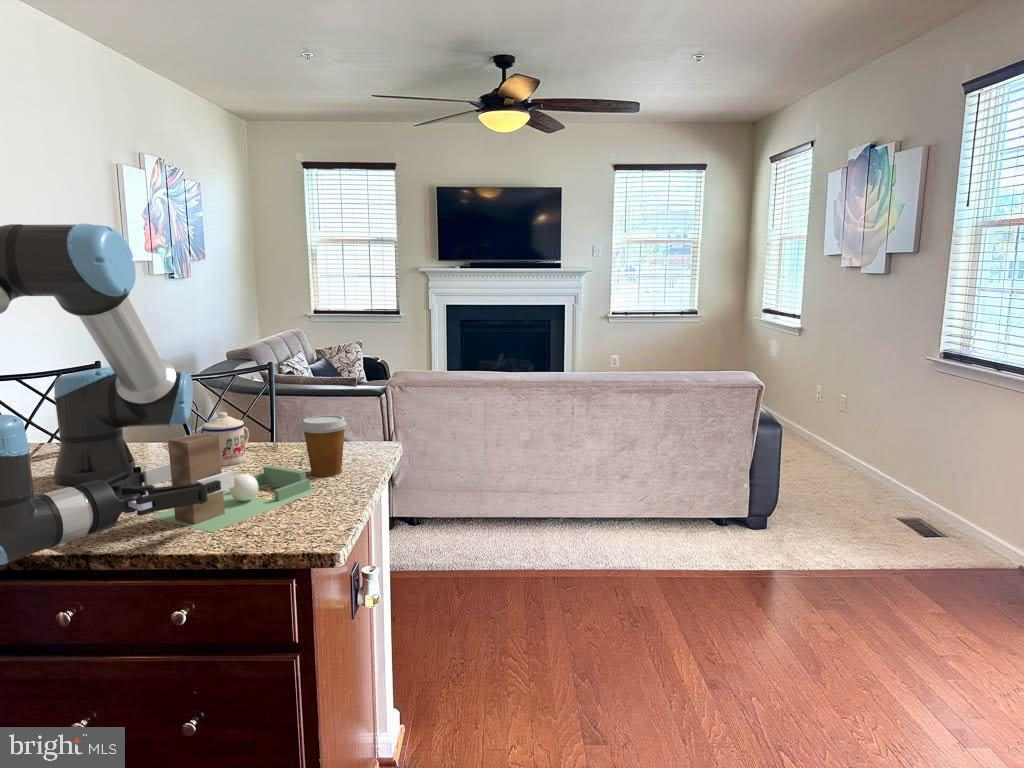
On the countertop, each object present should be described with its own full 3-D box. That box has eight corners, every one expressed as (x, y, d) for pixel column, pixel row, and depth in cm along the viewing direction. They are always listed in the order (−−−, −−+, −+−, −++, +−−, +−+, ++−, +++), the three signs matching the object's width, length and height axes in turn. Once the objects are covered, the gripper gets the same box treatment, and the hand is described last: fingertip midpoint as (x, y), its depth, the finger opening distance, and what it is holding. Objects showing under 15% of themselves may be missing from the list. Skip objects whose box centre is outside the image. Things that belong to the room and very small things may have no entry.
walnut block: (175, 520, 116) (167, 440, 113) (205, 509, 121) (199, 432, 119) (194, 524, 113) (187, 443, 111) (224, 513, 119) (218, 435, 116)
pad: (150, 525, 118) (147, 497, 117) (259, 487, 138) (258, 463, 138) (212, 540, 110) (210, 511, 109) (318, 498, 131) (317, 473, 130)
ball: (224, 502, 124) (222, 476, 124) (246, 495, 129) (244, 469, 128) (243, 506, 122) (241, 479, 121) (265, 498, 126) (263, 472, 126)
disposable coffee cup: (337, 480, 143) (334, 424, 141) (295, 478, 145) (292, 423, 143) (356, 467, 152) (353, 415, 150) (317, 465, 154) (314, 414, 152)
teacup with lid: (226, 468, 152) (222, 417, 151) (195, 465, 156) (191, 415, 154) (264, 455, 163) (260, 408, 162) (234, 452, 167) (230, 406, 165)
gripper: (35, 522, 105) (161, 484, 124) (135, 550, 93) (257, 505, 112) (29, 475, 104) (157, 444, 122) (129, 498, 92) (254, 461, 111)
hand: (205, 473), depth 117 cm, fingers open, 13 cm apart
